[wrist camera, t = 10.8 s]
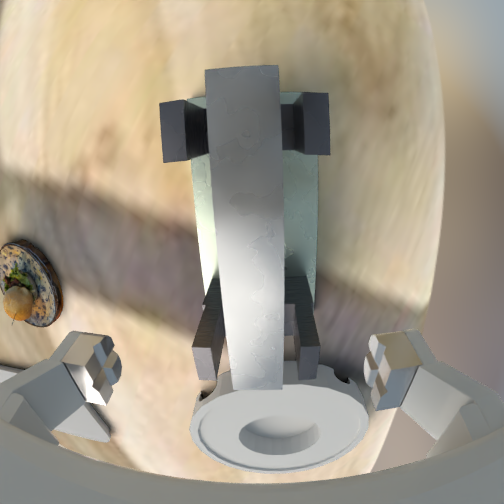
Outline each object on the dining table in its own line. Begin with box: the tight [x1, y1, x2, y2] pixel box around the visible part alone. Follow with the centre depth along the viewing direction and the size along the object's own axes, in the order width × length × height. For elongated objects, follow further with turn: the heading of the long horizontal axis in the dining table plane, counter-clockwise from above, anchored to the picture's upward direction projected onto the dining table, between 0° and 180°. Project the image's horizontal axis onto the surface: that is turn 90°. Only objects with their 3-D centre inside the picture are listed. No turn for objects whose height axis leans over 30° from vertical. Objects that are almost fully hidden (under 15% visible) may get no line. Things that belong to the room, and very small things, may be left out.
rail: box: [205, 65, 284, 390], centre depth 18 cm, size 20×4×4 cm, turn 3°
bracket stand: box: [159, 92, 330, 381], centre depth 20 cm, size 20×10×10 cm, turn 3°
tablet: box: [0, 365, 111, 442], centre depth 39 cm, size 16×26×2 cm, turn 100°
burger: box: [0, 240, 63, 327], centre depth 26 cm, size 12×12×8 cm
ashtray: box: [189, 361, 369, 474], centre depth 34 cm, size 23×23×4 cm
